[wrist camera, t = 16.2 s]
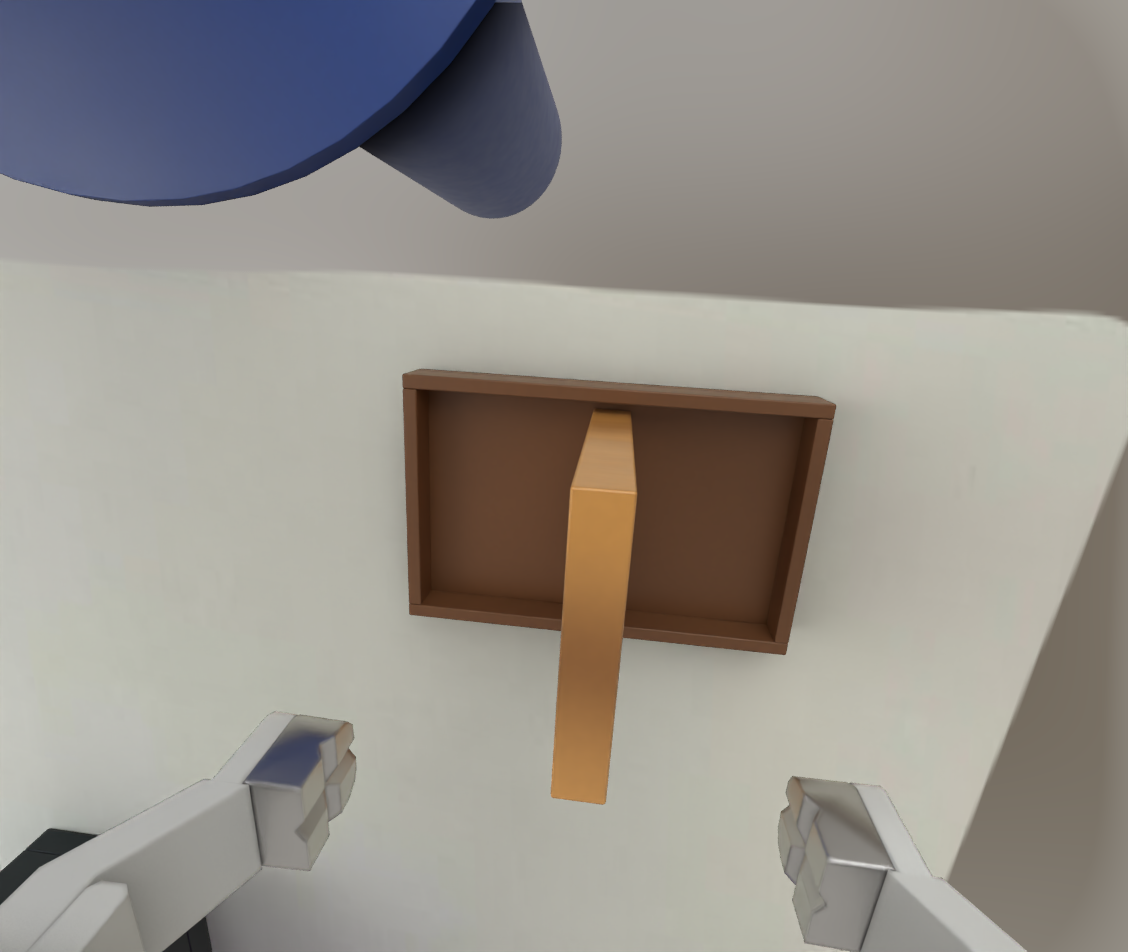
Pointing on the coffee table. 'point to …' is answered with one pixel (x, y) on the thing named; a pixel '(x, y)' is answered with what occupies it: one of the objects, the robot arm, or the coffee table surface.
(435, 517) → the tray
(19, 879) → the toaster
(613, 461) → the toast
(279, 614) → the coffee table surface
